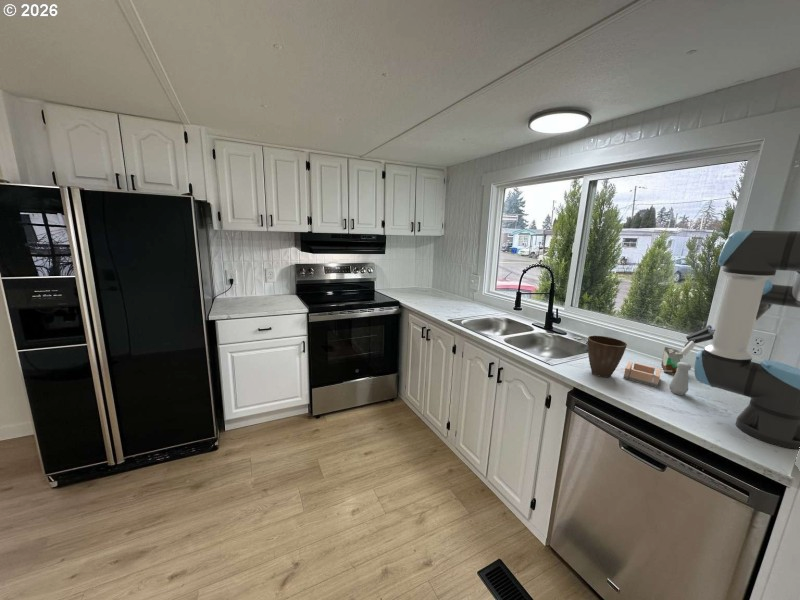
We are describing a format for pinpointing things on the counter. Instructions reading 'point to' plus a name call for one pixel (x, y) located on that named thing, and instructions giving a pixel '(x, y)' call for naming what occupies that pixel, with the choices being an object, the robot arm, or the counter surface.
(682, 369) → the salt shaker
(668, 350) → the food container
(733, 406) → the counter surface
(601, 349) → the plant pot
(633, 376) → the socket board
